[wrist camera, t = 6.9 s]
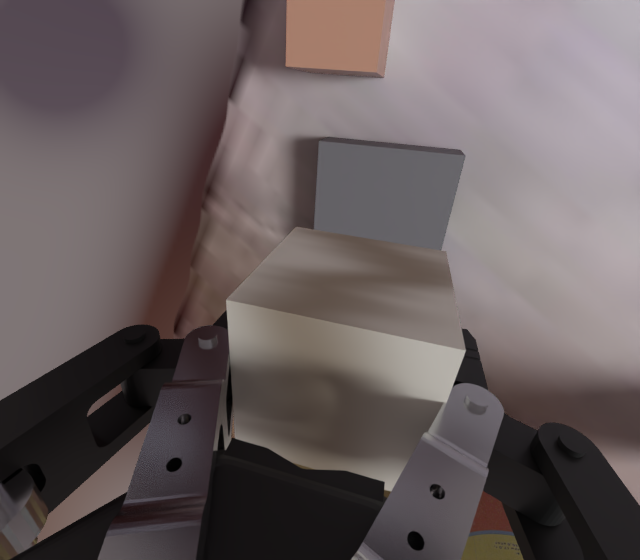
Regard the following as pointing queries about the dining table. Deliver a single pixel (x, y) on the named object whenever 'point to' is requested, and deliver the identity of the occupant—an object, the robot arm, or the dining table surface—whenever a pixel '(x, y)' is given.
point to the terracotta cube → (338, 36)
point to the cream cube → (343, 351)
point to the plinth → (386, 190)
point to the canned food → (491, 533)
